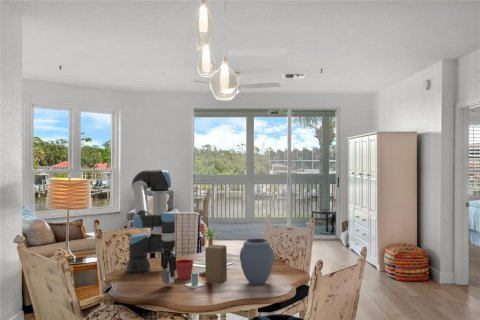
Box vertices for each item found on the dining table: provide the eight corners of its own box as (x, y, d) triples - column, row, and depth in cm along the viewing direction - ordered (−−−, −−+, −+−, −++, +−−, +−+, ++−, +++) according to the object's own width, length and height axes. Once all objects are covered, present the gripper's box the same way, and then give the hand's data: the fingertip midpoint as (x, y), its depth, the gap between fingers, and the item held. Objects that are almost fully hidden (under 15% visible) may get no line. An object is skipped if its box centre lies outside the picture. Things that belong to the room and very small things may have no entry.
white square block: (184, 285, 235) (184, 273, 235) (196, 282, 240) (196, 270, 240) (192, 288, 229) (192, 275, 229) (204, 285, 234) (204, 273, 234)
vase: (250, 290, 224) (249, 244, 224) (234, 281, 241) (233, 239, 242) (281, 285, 233) (280, 241, 233) (263, 277, 250) (262, 236, 251)
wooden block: (227, 279, 247) (227, 245, 247) (221, 283, 237) (220, 248, 238) (211, 277, 250) (211, 244, 250) (205, 282, 241) (204, 247, 241)
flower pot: (190, 280, 246) (190, 263, 246) (172, 279, 248) (172, 262, 248) (195, 275, 256) (195, 259, 256) (178, 274, 258) (178, 259, 259)
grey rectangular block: (162, 281, 234) (162, 270, 234) (170, 280, 237) (170, 268, 237) (166, 284, 230) (166, 272, 230) (174, 282, 233) (174, 270, 233)
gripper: (154, 238, 238) (154, 279, 238) (170, 243, 224) (170, 286, 224) (166, 236, 243) (166, 276, 243) (182, 241, 229) (182, 284, 229)
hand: (168, 281), depth 233 cm, fingers closed on grey rectangular block, 5 cm apart
